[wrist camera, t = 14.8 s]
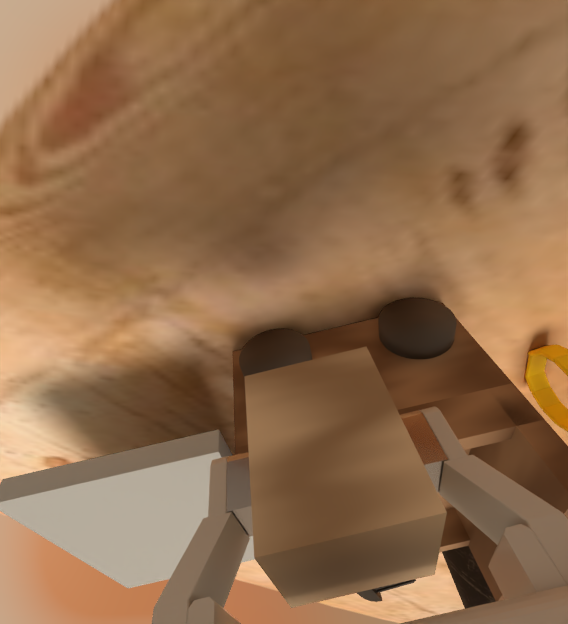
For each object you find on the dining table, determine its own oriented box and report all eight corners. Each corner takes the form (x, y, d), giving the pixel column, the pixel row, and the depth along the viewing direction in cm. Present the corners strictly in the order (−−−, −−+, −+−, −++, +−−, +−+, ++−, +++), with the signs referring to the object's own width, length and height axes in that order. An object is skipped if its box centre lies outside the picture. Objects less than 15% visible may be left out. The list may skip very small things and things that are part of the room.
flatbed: (443, 289, 20) (620, 478, 11) (425, 437, 30) (512, 602, 21) (228, 340, 20) (230, 568, 11) (279, 470, 30) (303, 650, 21)
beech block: (366, 346, 11) (446, 512, 7) (372, 419, 13) (434, 574, 9) (244, 376, 11) (253, 558, 7) (272, 444, 13) (291, 608, 9)
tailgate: (218, 451, 16) (-11, 504, 16) (277, 554, 24) (127, 588, 25) (219, 418, 17) (8, 467, 17) (274, 526, 26) (133, 559, 26)
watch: (517, 339, 25) (588, 402, 20) (556, 326, 24) (638, 387, 19) (514, 393, 28) (574, 458, 23) (548, 382, 28) (617, 446, 23)
